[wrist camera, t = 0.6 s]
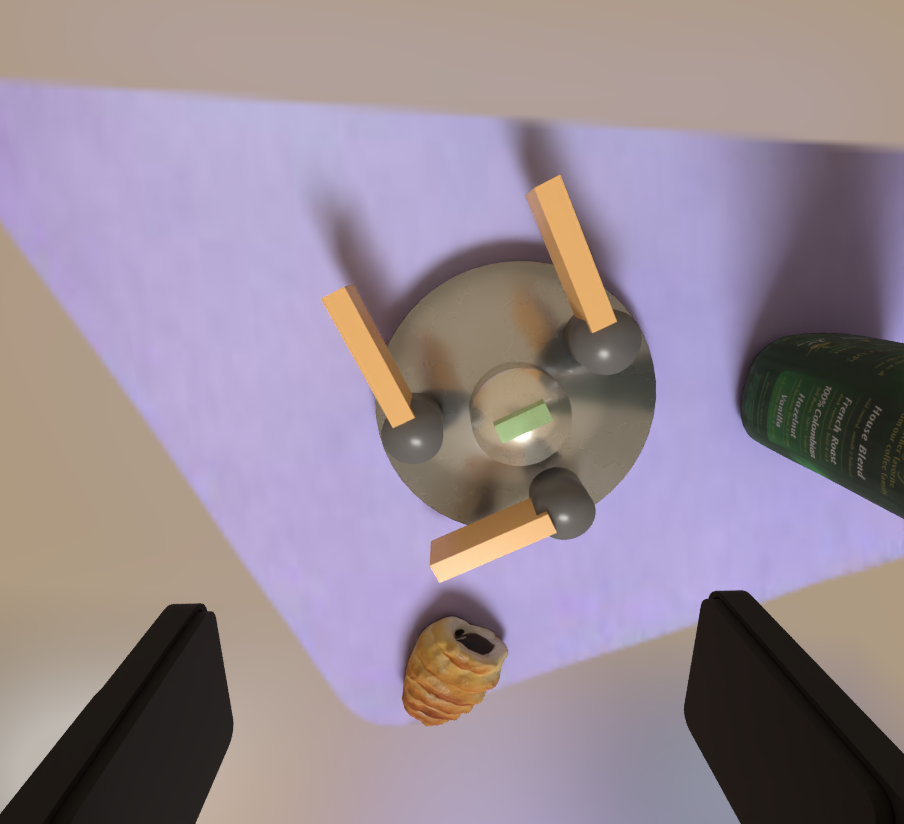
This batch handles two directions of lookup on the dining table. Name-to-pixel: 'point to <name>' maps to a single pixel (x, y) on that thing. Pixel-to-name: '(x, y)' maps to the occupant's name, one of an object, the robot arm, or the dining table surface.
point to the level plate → (503, 335)
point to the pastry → (451, 670)
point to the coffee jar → (833, 410)
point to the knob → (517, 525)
